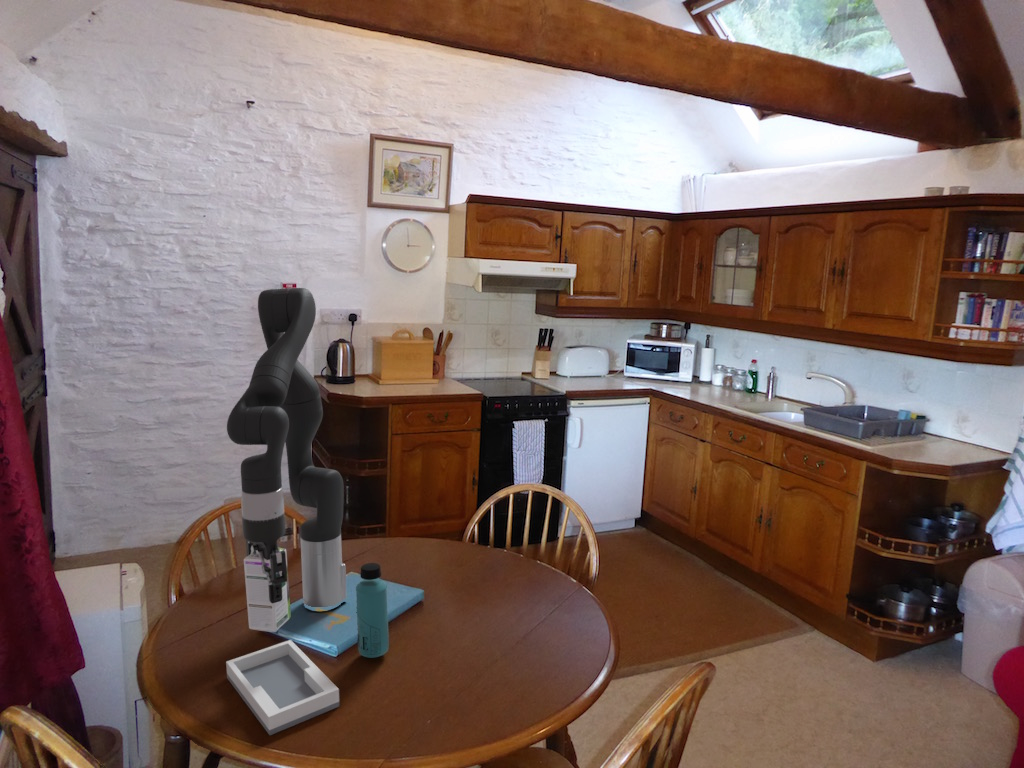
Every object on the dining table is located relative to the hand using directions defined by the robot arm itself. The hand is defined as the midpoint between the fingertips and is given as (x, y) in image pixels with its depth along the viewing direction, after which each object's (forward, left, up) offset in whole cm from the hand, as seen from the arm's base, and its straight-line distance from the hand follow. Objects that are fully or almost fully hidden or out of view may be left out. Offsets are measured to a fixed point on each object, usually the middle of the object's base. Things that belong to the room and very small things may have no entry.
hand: (267, 593), depth 136 cm
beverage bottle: (-20, +5, -18) cm, 27 cm away
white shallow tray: (0, +5, -18) cm, 19 cm away
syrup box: (0, 0, -6) cm, 6 cm away
